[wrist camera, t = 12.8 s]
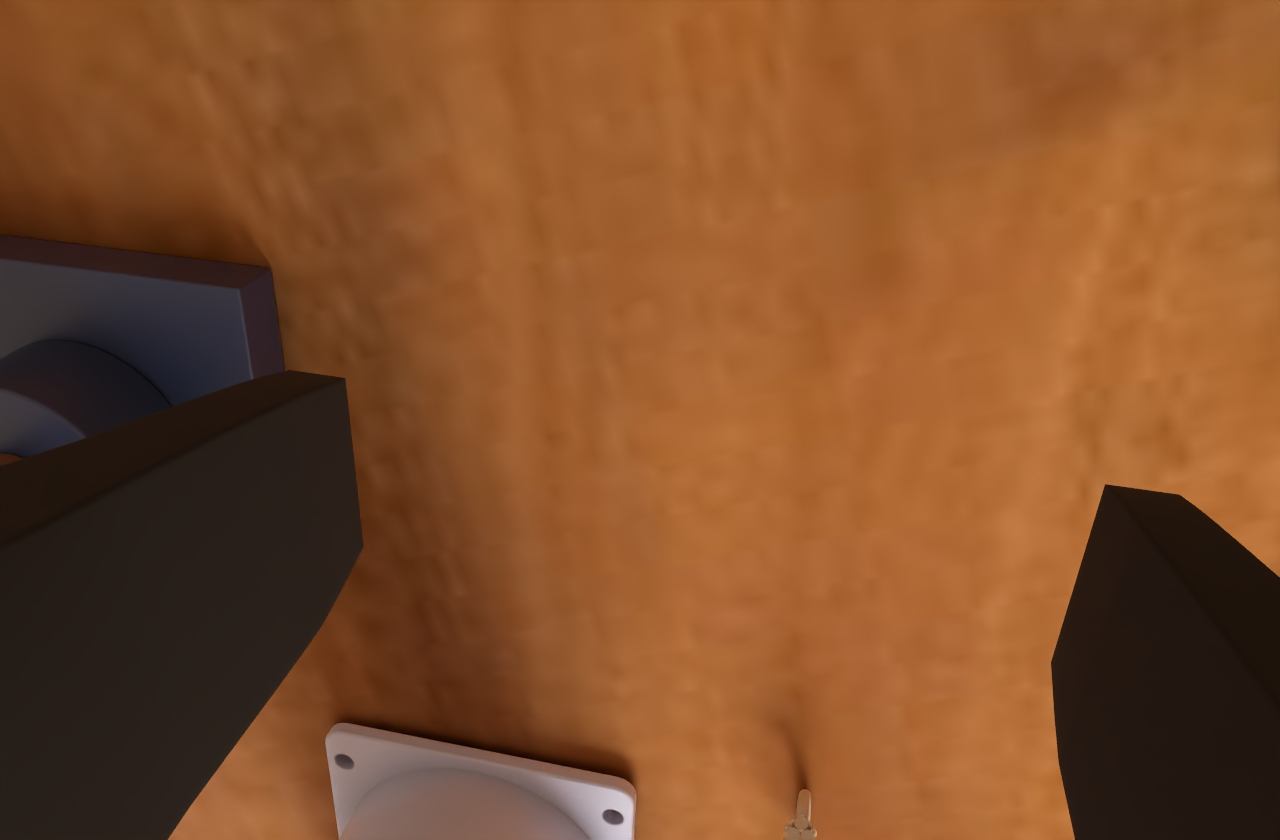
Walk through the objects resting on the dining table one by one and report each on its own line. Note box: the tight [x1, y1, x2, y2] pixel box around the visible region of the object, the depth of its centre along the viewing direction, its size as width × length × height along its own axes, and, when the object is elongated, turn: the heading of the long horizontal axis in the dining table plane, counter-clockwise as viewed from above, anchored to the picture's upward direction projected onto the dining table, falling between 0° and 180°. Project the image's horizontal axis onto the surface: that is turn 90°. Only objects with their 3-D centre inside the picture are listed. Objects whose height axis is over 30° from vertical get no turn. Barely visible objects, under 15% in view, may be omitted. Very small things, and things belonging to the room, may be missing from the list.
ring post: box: [0, 235, 285, 466], centre depth 21 cm, size 8×8×6 cm
